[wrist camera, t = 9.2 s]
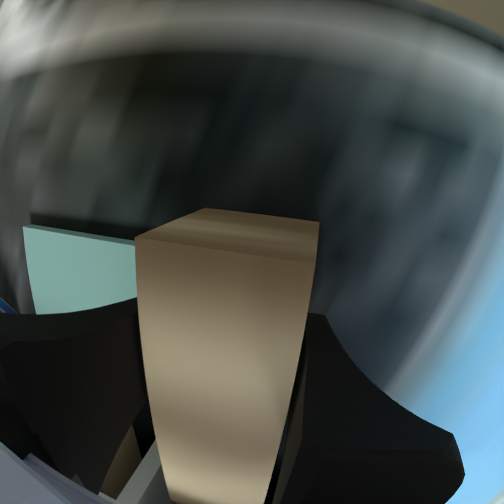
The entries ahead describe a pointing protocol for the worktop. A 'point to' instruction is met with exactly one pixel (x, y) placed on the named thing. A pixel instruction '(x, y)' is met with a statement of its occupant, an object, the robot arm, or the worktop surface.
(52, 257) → the teal mat
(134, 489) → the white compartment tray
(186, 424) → the beech bar
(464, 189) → the worktop surface
